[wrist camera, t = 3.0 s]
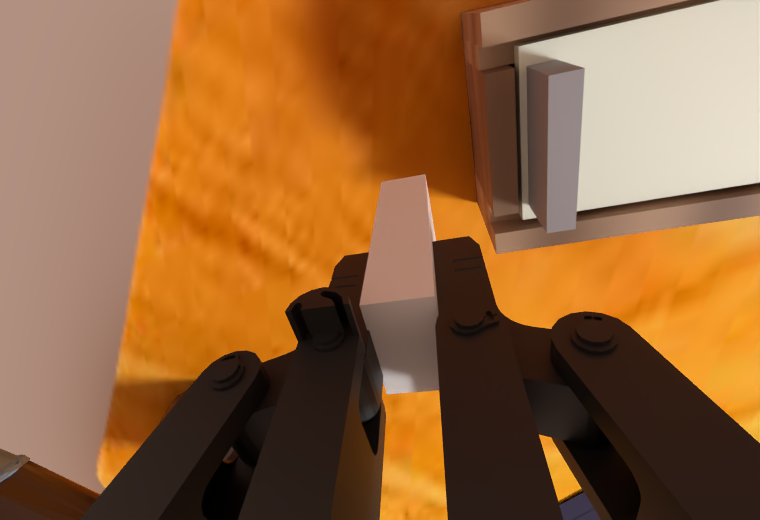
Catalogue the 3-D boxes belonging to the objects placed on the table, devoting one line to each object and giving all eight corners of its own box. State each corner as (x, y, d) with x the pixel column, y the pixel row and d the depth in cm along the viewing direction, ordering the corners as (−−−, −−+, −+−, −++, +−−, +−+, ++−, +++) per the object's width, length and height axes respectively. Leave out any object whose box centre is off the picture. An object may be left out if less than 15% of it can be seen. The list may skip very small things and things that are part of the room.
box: (477, 203, 26) (496, 253, 20) (460, 13, 20) (480, 13, 15) (864, 138, 22) (1012, 178, 17) (974, -115, 17) (1250, -177, 11)
